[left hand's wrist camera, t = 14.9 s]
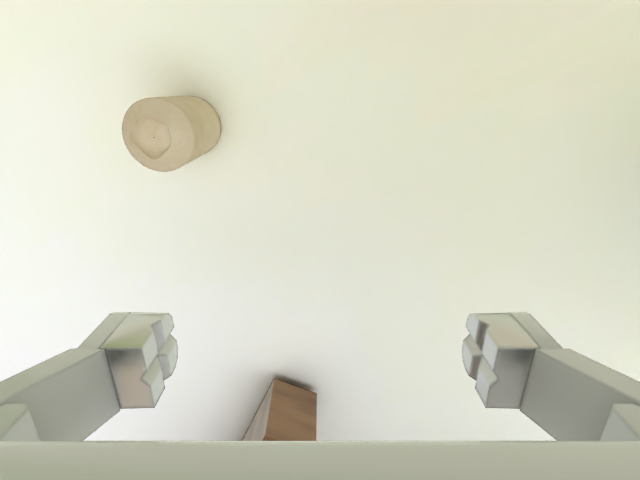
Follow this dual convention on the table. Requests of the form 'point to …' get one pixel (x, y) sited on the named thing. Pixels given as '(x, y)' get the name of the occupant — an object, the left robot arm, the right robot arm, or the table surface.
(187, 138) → the candle
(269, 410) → the bar
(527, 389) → the left robot arm
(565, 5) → the table surface
